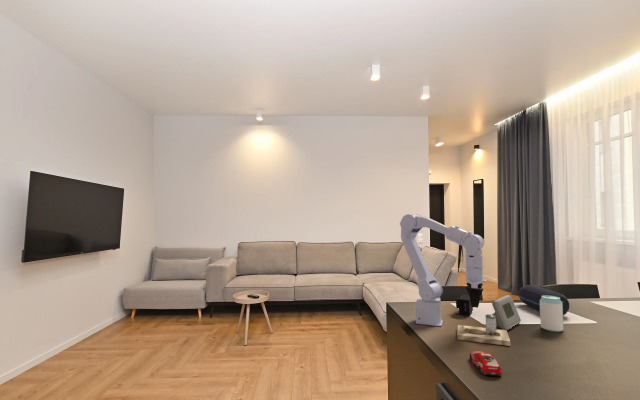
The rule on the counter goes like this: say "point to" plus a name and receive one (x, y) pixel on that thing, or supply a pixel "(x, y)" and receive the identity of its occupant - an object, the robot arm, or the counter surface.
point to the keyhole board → (464, 334)
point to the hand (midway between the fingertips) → (474, 304)
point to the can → (551, 313)
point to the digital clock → (505, 312)
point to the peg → (490, 325)
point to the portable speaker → (534, 293)
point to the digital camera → (464, 305)
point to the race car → (485, 363)
